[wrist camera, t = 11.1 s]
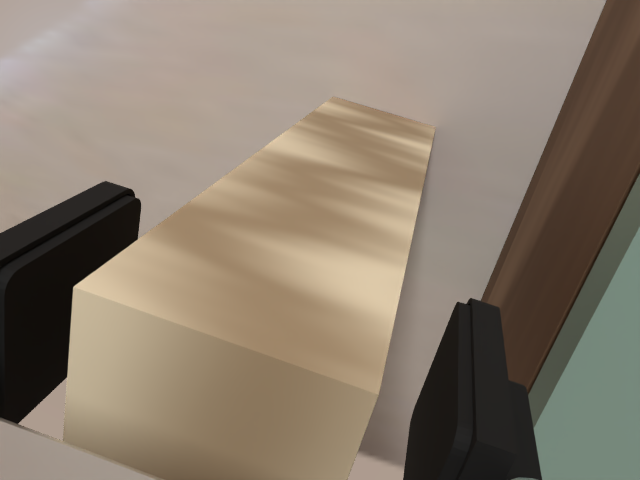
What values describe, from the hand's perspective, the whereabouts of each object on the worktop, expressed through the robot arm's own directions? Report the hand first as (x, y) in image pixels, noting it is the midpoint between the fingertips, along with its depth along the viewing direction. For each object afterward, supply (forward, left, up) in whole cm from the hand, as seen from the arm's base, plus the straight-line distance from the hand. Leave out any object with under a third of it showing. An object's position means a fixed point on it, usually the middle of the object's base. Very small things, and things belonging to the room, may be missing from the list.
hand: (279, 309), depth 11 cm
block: (0, 0, -12) cm, 12 cm away
